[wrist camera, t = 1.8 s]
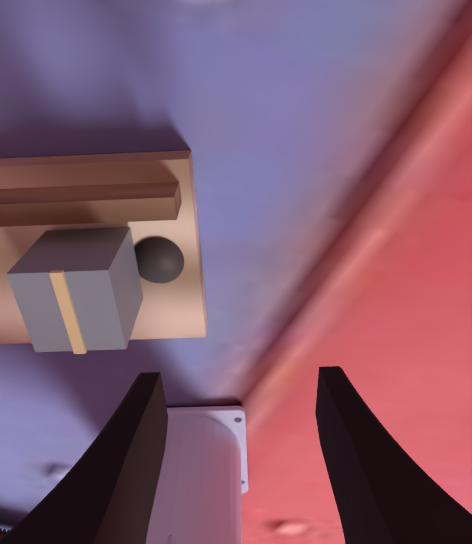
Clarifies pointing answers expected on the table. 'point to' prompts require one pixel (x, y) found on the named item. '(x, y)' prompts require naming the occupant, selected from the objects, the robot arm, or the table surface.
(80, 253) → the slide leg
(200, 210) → the table surface
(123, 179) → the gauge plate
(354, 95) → the table surface
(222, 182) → the table surface
